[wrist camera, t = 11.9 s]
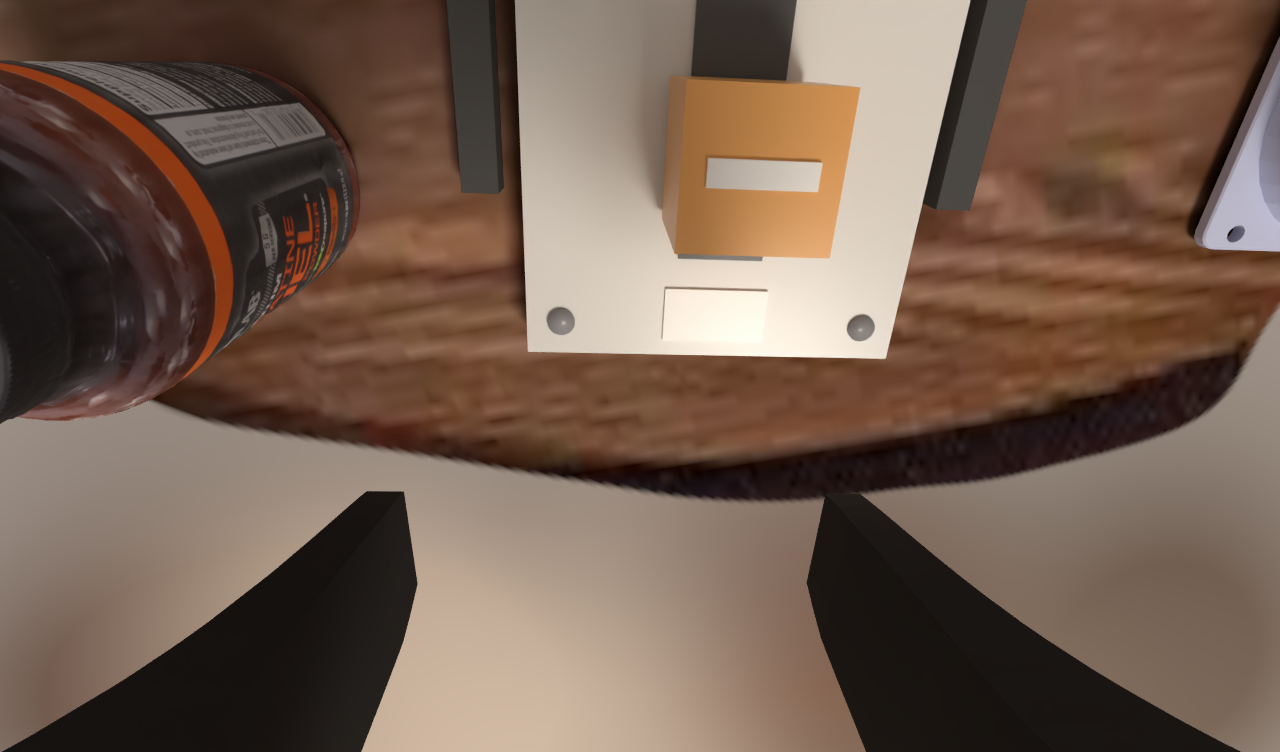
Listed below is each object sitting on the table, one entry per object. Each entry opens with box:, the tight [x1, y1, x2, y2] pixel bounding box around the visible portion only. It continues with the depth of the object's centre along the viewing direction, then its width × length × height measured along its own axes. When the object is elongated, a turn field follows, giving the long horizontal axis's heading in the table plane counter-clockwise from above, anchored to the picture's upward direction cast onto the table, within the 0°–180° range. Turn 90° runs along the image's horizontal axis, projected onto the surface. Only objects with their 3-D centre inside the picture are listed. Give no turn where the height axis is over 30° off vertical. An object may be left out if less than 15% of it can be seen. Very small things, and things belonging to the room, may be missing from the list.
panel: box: [515, 0, 970, 359], centre depth 16 cm, size 11×17×2 cm, turn 177°
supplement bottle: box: [0, 61, 360, 424], centre depth 13 cm, size 6×6×11 cm
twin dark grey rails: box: [446, 0, 1027, 211], centre depth 17 cm, size 14×8×1 cm, turn 87°
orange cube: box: [662, 75, 861, 259], centre depth 15 cm, size 4×4×4 cm
